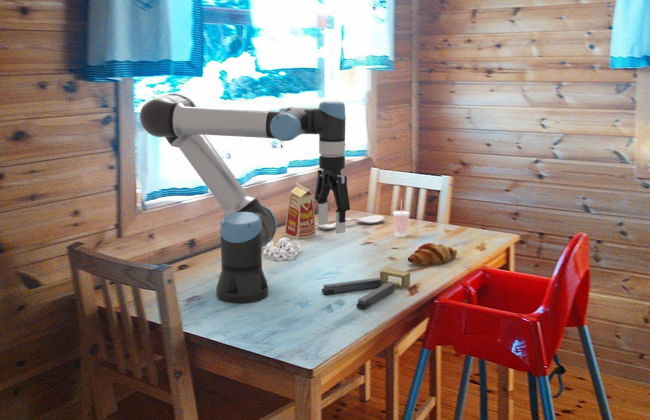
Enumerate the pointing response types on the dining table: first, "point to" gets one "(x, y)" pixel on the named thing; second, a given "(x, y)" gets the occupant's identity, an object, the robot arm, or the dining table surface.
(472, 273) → the dining table surface
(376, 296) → the tongs fixed arm
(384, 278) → the tan block
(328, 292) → the tongs arm
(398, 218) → the beverage cup
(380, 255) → the dining table surface
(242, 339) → the dining table surface
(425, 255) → the croissant
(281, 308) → the dining table surface
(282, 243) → the tangled rod sculpture
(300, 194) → the milk carton
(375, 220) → the white long curved piece
